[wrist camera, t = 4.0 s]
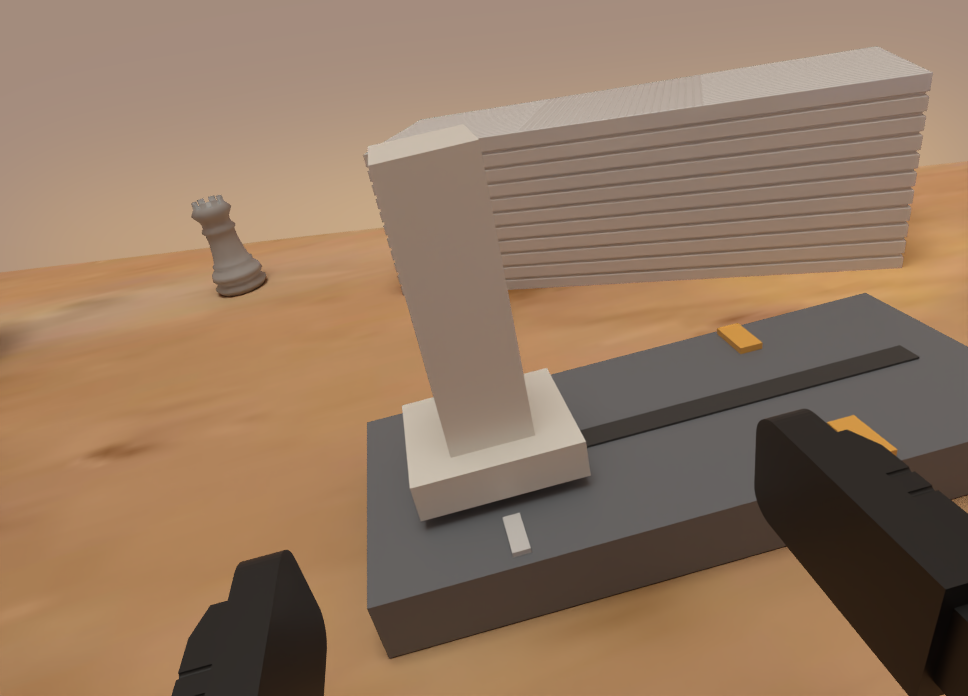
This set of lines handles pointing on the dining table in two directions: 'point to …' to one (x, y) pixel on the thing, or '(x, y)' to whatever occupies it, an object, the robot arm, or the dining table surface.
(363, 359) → the dining table surface
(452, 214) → the fader tab
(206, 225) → the rook chess piece
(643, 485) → the fader console
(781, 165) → the stack of papers
